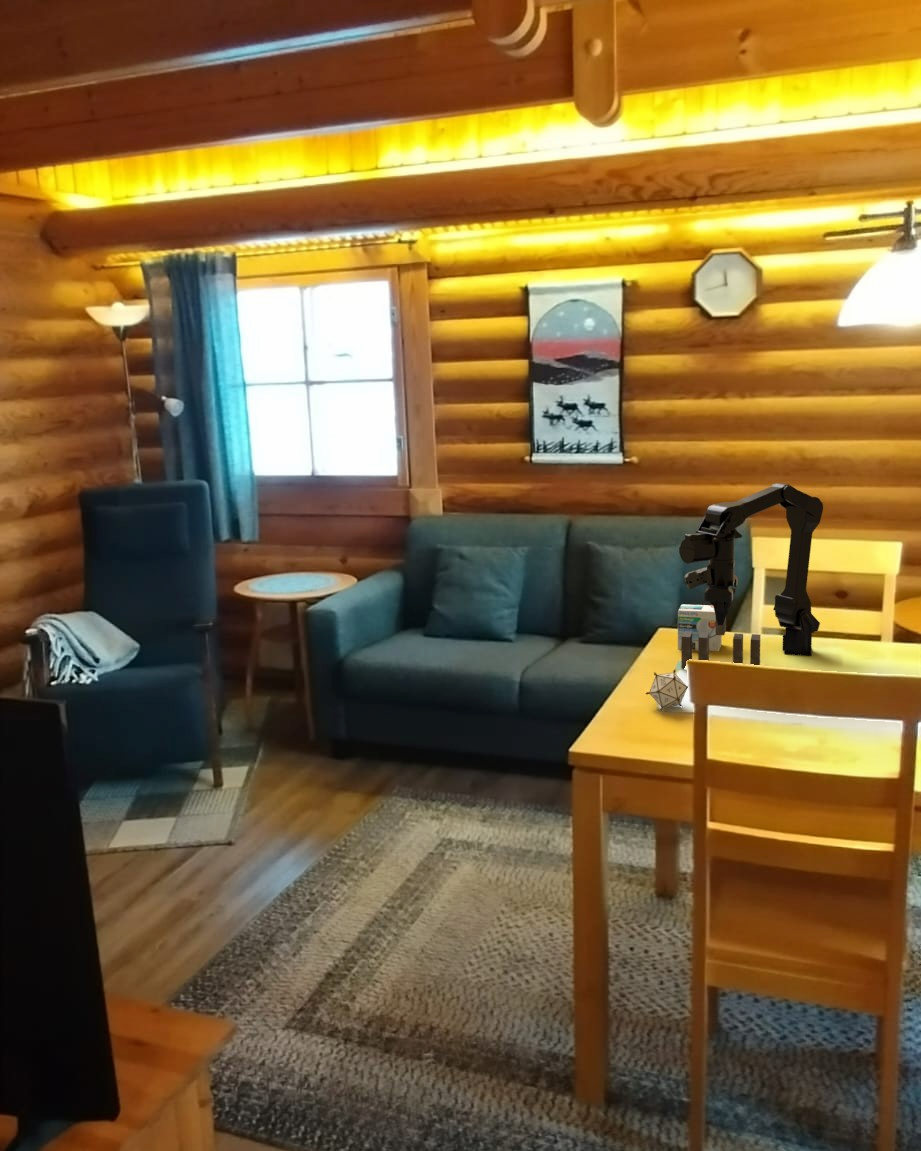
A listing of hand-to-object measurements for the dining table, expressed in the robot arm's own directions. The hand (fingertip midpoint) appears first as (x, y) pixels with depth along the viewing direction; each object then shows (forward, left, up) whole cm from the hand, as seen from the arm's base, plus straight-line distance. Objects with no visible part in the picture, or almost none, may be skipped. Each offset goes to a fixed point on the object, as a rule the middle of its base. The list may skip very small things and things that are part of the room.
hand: (721, 622), depth 244 cm
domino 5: (-8, 0, -11) cm, 14 cm away
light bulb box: (+7, -17, -12) cm, 22 cm away
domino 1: (+8, 0, -11) cm, 14 cm away
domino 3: (0, 0, -2) cm, 3 cm away
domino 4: (-4, 0, -11) cm, 12 cm away
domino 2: (+4, 0, -11) cm, 12 cm away
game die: (+9, +30, -12) cm, 33 cm away
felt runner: (0, 0, -12) cm, 12 cm away
